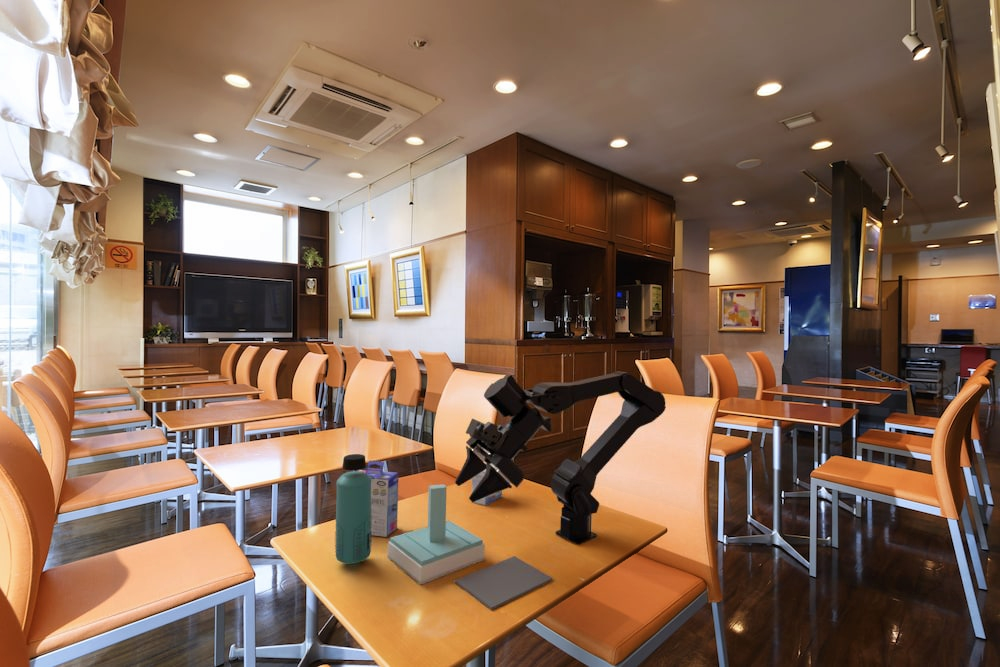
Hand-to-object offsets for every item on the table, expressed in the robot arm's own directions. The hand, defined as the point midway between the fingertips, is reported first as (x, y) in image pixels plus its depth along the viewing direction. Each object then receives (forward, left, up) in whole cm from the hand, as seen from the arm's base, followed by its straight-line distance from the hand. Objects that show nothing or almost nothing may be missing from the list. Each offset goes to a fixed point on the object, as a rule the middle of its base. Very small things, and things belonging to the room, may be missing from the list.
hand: (463, 492), depth 90 cm
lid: (+5, -2, -9) cm, 11 cm away
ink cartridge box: (+9, -21, -12) cm, 26 cm away
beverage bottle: (+18, -10, -12) cm, 24 cm away
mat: (0, +12, -12) cm, 17 cm away
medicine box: (-22, -20, -12) cm, 32 cm away
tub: (+5, -2, -12) cm, 13 cm away
